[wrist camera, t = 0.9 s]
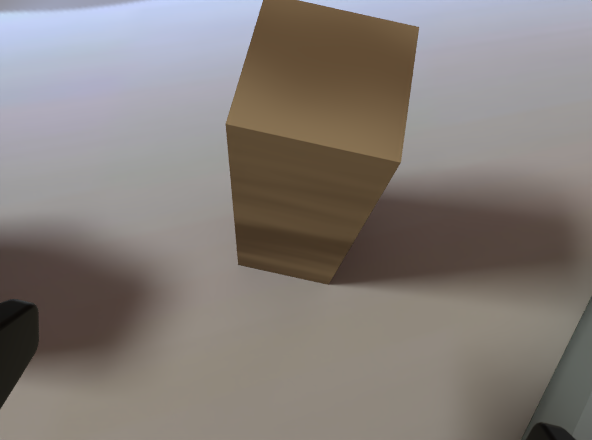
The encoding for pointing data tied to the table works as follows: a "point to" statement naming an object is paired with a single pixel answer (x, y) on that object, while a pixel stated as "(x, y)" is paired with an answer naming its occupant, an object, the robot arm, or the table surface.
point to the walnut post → (315, 133)
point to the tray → (571, 386)
